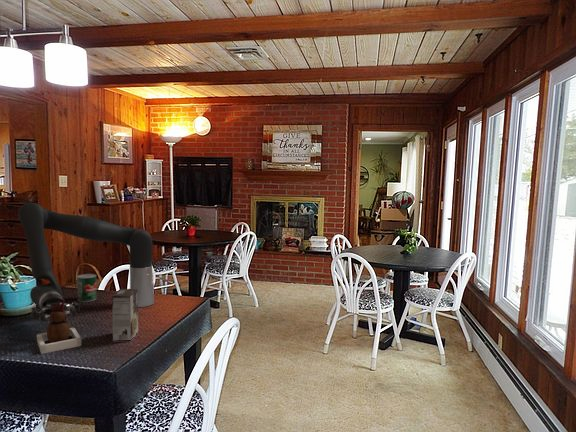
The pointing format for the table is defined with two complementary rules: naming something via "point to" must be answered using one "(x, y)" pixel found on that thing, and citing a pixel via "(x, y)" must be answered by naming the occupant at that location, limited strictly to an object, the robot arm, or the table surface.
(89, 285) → the canned tomato
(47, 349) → the frame
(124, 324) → the coffee box
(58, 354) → the table surface
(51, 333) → the wooden figurine
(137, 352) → the table surface
